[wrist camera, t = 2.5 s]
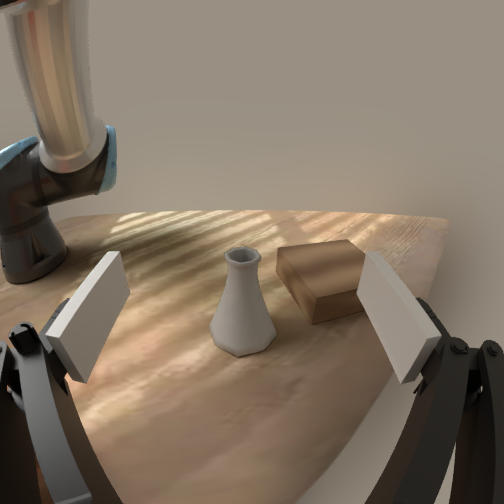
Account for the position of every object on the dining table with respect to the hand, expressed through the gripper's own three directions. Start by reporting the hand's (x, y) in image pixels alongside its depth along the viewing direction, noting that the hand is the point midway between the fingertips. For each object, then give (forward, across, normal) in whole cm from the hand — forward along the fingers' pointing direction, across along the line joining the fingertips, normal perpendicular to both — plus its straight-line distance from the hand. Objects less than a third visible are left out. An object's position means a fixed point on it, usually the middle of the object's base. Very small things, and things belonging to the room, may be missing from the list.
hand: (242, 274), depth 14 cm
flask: (+10, 0, -15) cm, 18 cm away
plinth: (+19, +12, -14) cm, 27 cm away
